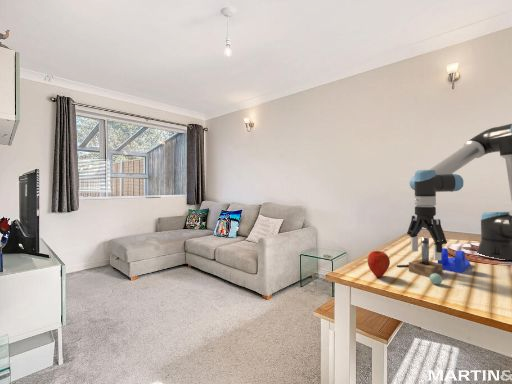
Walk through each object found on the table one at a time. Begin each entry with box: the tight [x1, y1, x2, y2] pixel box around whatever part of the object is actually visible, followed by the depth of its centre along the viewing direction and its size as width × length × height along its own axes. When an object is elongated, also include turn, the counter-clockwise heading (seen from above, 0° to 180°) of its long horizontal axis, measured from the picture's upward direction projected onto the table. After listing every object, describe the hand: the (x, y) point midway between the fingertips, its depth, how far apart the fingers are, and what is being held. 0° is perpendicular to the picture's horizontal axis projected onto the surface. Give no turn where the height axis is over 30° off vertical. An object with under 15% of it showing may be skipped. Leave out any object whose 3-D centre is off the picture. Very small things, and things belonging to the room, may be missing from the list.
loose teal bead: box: [429, 273, 443, 285], centre depth 97 cm, size 4×4×4 cm
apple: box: [367, 250, 391, 278], centre depth 106 cm, size 9×8×11 cm
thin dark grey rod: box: [396, 264, 409, 268], centre depth 118 cm, size 14×1×1 cm, turn 94°
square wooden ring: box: [408, 258, 444, 278], centre depth 109 cm, size 9×9×4 cm
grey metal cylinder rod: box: [420, 237, 430, 265], centre depth 109 cm, size 3×3×15 cm
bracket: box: [437, 247, 471, 274], centre depth 116 cm, size 18×8×9 cm, turn 128°
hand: (425, 255), depth 109 cm, fingers open, 13 cm apart
